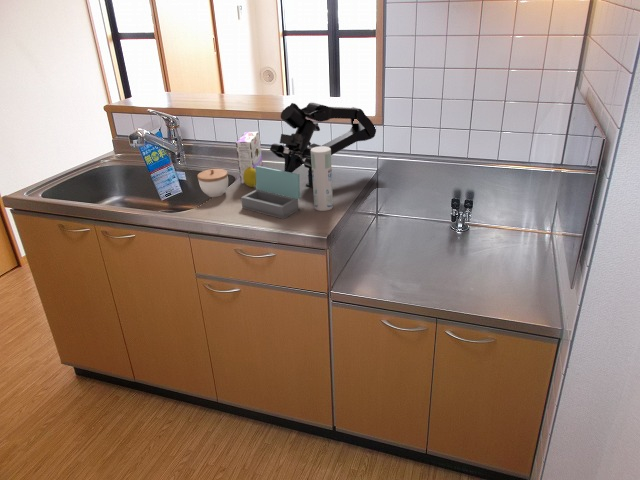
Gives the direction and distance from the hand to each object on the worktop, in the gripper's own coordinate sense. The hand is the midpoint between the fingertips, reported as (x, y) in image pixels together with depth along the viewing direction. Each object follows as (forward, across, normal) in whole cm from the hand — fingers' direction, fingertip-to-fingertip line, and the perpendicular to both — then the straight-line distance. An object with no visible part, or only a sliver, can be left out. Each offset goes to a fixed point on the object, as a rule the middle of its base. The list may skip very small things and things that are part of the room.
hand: (285, 175), depth 176 cm
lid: (+4, 0, -3) cm, 5 cm away
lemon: (+5, -19, +8) cm, 21 cm away
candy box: (-1, -26, +14) cm, 30 cm away
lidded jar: (+12, -27, 0) cm, 30 cm away
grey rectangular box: (+13, 0, -1) cm, 13 cm away
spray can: (+6, +15, +7) cm, 18 cm away
